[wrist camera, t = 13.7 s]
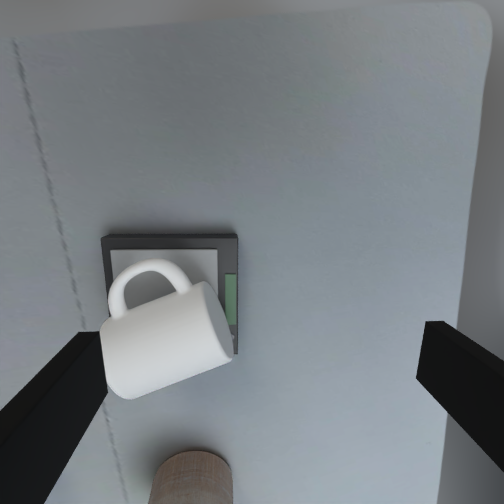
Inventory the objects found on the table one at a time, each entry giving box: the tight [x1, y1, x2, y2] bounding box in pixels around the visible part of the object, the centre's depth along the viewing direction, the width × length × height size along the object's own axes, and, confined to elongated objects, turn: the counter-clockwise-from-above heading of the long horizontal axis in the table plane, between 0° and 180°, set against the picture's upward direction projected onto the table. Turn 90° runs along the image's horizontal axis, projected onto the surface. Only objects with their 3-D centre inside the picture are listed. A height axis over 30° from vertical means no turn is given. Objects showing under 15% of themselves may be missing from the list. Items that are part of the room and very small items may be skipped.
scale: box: [101, 234, 238, 354], centre depth 32 cm, size 14×14×3 cm
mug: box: [100, 258, 234, 399], centre depth 27 cm, size 12×10×8 cm
